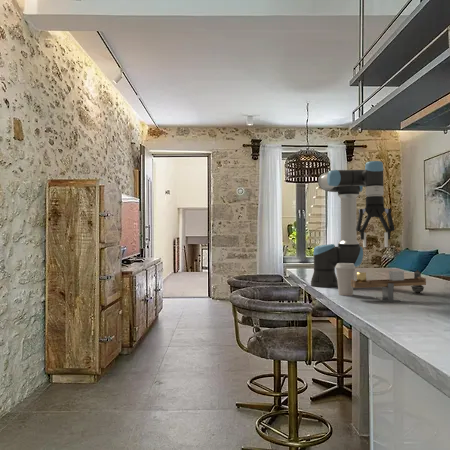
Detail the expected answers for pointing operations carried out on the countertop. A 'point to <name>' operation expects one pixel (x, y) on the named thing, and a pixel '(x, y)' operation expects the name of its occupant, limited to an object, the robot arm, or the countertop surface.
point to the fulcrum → (388, 294)
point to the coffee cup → (345, 278)
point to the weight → (361, 277)
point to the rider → (396, 275)
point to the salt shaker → (417, 288)
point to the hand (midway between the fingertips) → (375, 247)
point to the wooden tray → (385, 282)
